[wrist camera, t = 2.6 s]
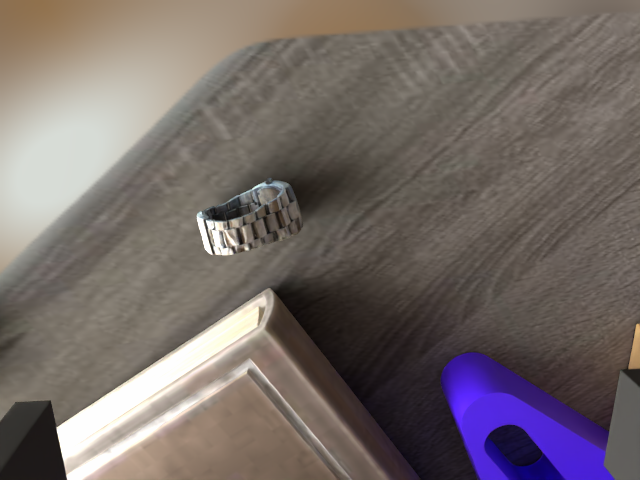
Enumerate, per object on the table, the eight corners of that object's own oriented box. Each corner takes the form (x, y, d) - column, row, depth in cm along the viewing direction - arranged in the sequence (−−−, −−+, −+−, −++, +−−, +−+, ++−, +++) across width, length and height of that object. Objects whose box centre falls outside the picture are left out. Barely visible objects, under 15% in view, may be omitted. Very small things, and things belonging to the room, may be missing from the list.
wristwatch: (257, 228, 31) (314, 230, 28) (181, 252, 28) (234, 259, 24) (247, 177, 31) (304, 172, 27) (168, 196, 27) (220, 194, 24)
